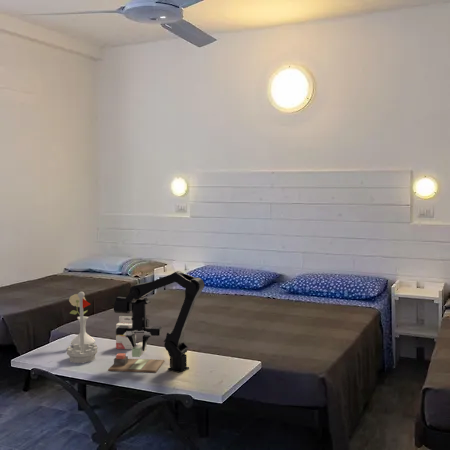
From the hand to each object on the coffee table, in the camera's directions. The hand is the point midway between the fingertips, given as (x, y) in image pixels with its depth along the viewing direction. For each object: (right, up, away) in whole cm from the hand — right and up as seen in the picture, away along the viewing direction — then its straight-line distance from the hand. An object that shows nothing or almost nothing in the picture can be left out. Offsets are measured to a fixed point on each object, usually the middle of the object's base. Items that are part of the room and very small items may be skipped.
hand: (139, 350), depth 237 cm
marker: (0, -1, 0) cm, 1 cm away
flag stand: (-27, -6, +11) cm, 30 cm away
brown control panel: (-1, -7, 0) cm, 7 cm away
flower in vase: (-33, -5, +33) cm, 47 cm away
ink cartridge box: (-11, -5, +29) cm, 32 cm away
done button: (-8, -4, +1) cm, 9 cm away
